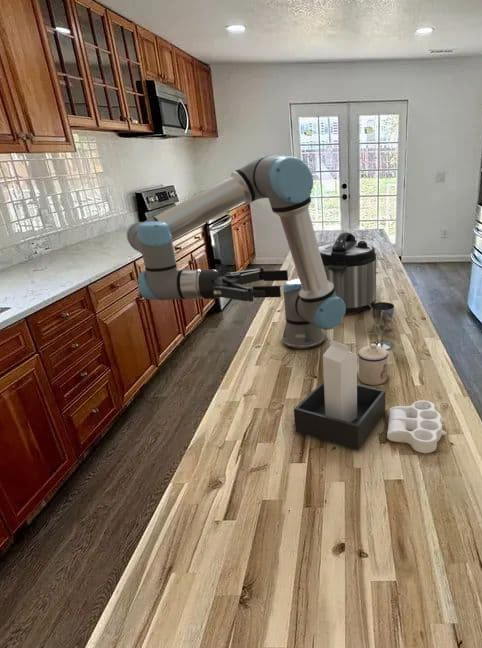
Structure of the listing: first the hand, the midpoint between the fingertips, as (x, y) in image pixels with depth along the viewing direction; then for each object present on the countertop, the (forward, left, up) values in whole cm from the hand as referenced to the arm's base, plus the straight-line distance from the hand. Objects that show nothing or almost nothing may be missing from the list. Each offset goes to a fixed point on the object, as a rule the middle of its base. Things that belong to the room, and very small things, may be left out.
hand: (284, 282), depth 111 cm
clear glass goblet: (-56, +4, -35) cm, 66 cm away
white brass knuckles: (0, +37, -35) cm, 51 cm away
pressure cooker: (-75, -21, -35) cm, 85 cm away
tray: (+5, +18, -34) cm, 39 cm away
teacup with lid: (-21, +16, -35) cm, 43 cm away
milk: (+5, +18, -34) cm, 38 cm away
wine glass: (-43, +10, -35) cm, 56 cm away
